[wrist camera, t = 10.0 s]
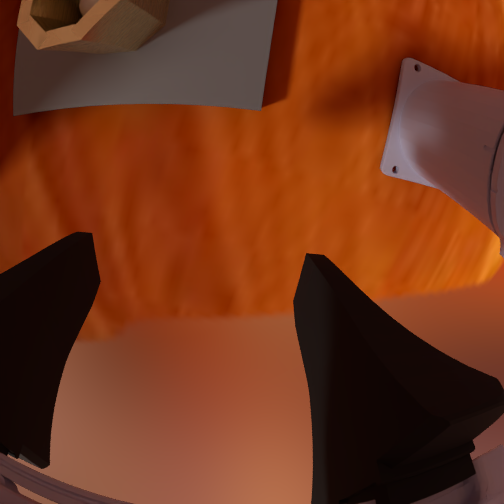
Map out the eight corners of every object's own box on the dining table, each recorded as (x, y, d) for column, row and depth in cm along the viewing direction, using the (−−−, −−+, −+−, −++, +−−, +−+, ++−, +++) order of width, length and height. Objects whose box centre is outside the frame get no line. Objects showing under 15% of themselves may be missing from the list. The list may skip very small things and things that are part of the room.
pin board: (284, -51, 10) (299, -94, 5) (259, 108, 15) (266, 119, 11) (44, -27, 8) (-3, -40, 3) (26, 112, 14) (-28, 131, 9)
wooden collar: (175, -29, 9) (143, -76, 4) (161, 49, 12) (116, 34, 7) (92, -18, 9) (34, -43, 4) (79, 57, 11) (12, 57, 6)
